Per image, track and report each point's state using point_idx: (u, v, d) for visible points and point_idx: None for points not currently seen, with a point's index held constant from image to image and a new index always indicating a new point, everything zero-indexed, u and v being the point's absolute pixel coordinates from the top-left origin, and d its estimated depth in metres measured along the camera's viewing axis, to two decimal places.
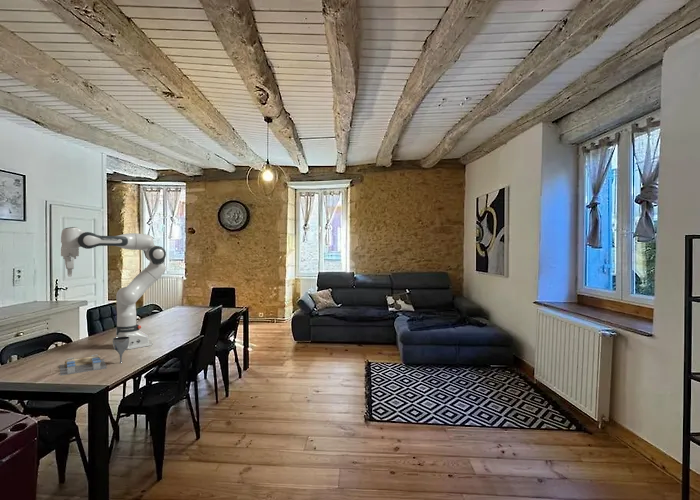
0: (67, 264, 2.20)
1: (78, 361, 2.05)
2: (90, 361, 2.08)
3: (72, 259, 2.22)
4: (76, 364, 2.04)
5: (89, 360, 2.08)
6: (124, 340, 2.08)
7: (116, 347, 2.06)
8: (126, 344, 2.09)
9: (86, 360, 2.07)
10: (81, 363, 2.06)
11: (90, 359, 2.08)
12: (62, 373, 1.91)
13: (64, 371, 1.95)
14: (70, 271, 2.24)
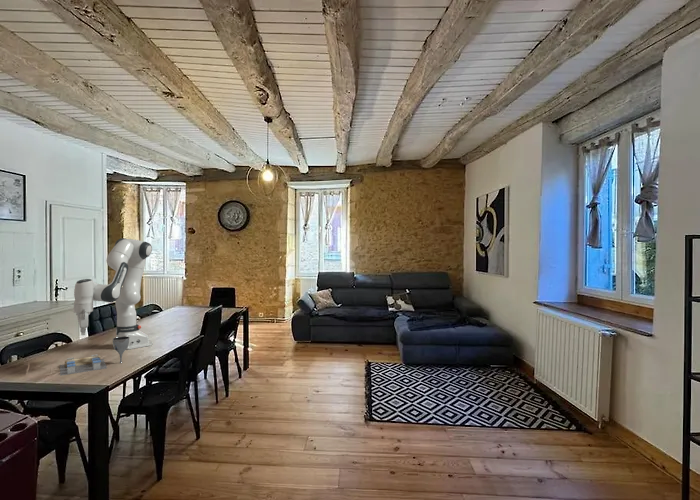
0: (81, 323, 1.99)
1: (78, 361, 2.05)
2: (90, 361, 2.08)
3: (86, 317, 2.00)
4: (76, 364, 2.04)
5: (89, 360, 2.08)
6: (124, 340, 2.08)
7: (116, 347, 2.06)
8: (126, 344, 2.09)
9: (86, 360, 2.07)
10: (81, 363, 2.06)
11: (90, 359, 2.08)
12: (62, 373, 1.91)
13: (64, 371, 1.95)
14: (84, 329, 2.02)
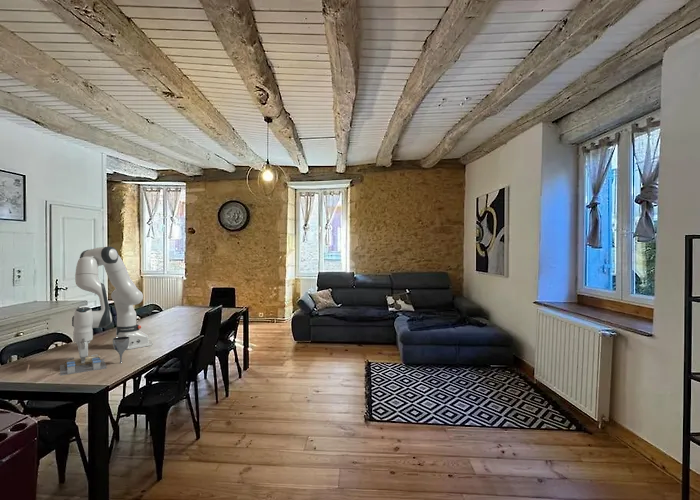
0: (81, 353, 1.99)
1: (78, 361, 2.05)
2: (90, 361, 2.08)
3: (86, 346, 2.00)
4: (76, 364, 2.04)
5: (89, 360, 2.08)
6: (124, 340, 2.08)
7: (116, 347, 2.06)
8: (126, 344, 2.09)
9: (86, 360, 2.07)
10: (81, 363, 2.06)
11: (90, 359, 2.08)
12: (62, 373, 1.91)
13: (64, 371, 1.95)
14: (83, 358, 2.04)
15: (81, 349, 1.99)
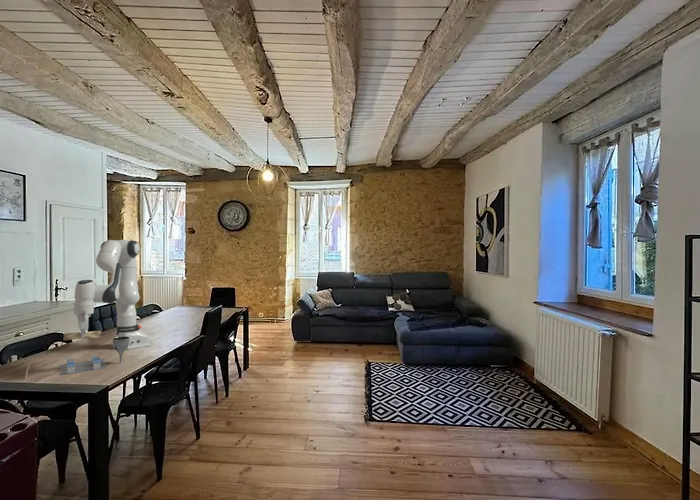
0: (81, 325, 1.92)
1: (78, 335, 1.98)
2: (90, 335, 2.01)
3: (86, 319, 1.94)
4: (75, 338, 1.97)
5: (89, 334, 2.01)
6: (124, 340, 2.08)
7: (116, 347, 2.06)
8: (126, 344, 2.09)
9: (86, 334, 2.00)
10: (81, 337, 1.99)
11: (90, 333, 2.01)
12: (62, 373, 1.91)
13: (64, 371, 1.95)
14: (83, 331, 1.98)
15: (81, 321, 1.92)
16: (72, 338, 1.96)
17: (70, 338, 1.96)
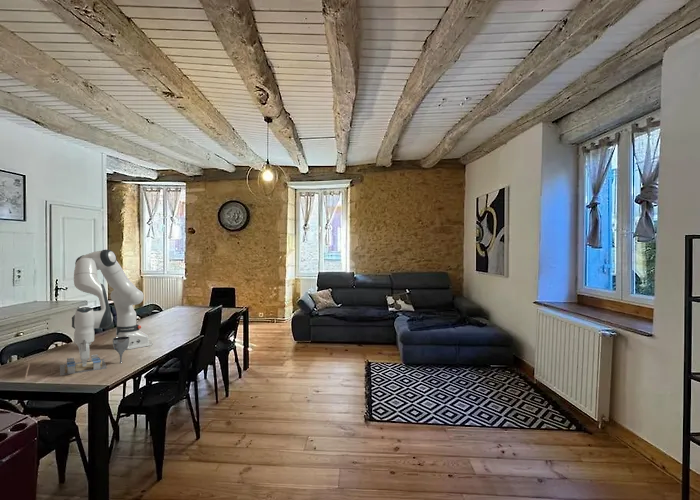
0: (82, 355, 1.90)
1: (79, 366, 1.96)
2: (91, 366, 1.99)
3: (87, 348, 1.92)
4: (77, 369, 1.95)
5: (90, 365, 1.99)
6: (124, 340, 2.08)
7: (116, 347, 2.06)
8: (126, 344, 2.09)
9: (87, 365, 1.98)
10: (82, 368, 1.97)
11: (91, 364, 1.99)
12: (62, 373, 1.91)
13: (64, 371, 1.95)
14: (85, 360, 1.94)
15: (82, 351, 1.90)
16: None
17: None
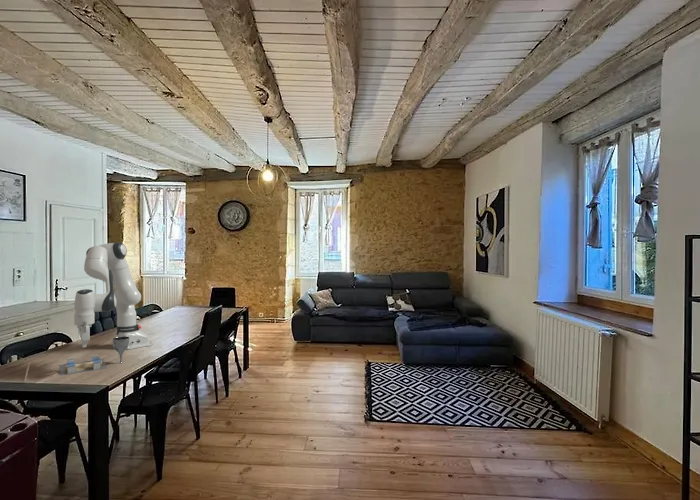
0: (82, 336, 1.90)
1: (79, 366, 1.96)
2: (91, 366, 1.99)
3: (88, 329, 1.91)
4: (77, 369, 1.95)
5: (90, 365, 1.99)
6: (124, 340, 2.08)
7: (116, 347, 2.06)
8: (126, 344, 2.09)
9: (87, 365, 1.98)
10: (82, 368, 1.97)
11: (91, 364, 1.99)
12: (62, 373, 1.91)
13: (64, 371, 1.95)
14: (85, 341, 1.96)
15: (82, 332, 1.90)
16: None
17: None
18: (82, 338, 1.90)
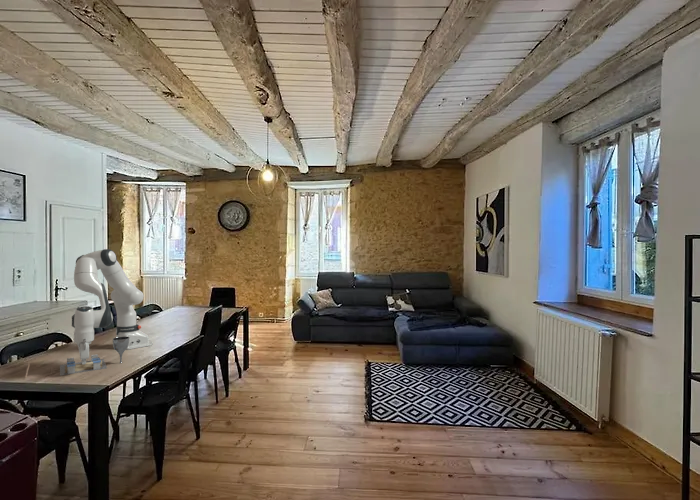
0: (81, 354, 1.90)
1: (79, 366, 1.96)
2: (91, 366, 1.99)
3: (87, 347, 1.91)
4: (77, 369, 1.95)
5: (90, 365, 1.99)
6: (124, 340, 2.08)
7: (116, 347, 2.06)
8: (126, 344, 2.09)
9: (87, 365, 1.98)
10: (82, 368, 1.97)
11: (91, 364, 1.99)
12: (62, 373, 1.91)
13: (64, 371, 1.95)
14: (84, 358, 1.97)
15: (82, 350, 1.90)
16: None
17: None
18: (81, 356, 1.90)
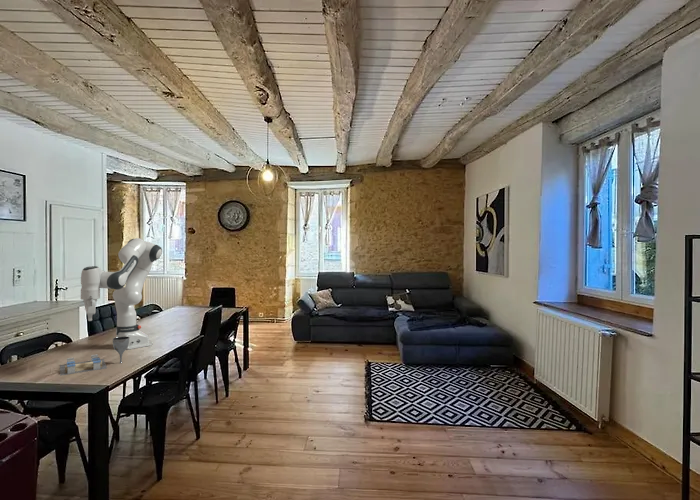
0: (88, 309, 1.99)
1: (79, 366, 1.96)
2: (91, 366, 1.99)
3: (93, 303, 2.01)
4: (77, 369, 1.95)
5: (90, 365, 1.99)
6: (124, 340, 2.08)
7: (116, 347, 2.06)
8: (126, 344, 2.09)
9: (87, 365, 1.98)
10: (82, 368, 1.97)
11: (91, 364, 1.99)
12: (62, 373, 1.91)
13: (64, 371, 1.95)
14: (91, 315, 2.06)
15: (89, 306, 1.99)
16: None
17: None
18: (88, 311, 1.99)
